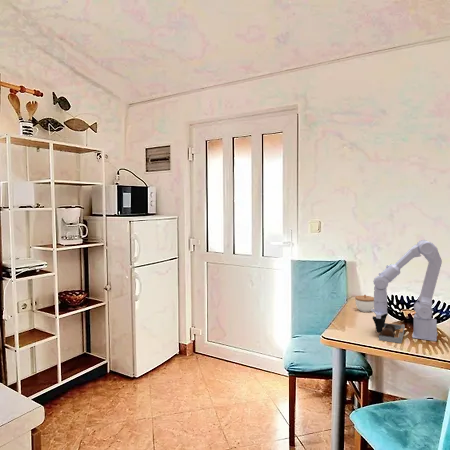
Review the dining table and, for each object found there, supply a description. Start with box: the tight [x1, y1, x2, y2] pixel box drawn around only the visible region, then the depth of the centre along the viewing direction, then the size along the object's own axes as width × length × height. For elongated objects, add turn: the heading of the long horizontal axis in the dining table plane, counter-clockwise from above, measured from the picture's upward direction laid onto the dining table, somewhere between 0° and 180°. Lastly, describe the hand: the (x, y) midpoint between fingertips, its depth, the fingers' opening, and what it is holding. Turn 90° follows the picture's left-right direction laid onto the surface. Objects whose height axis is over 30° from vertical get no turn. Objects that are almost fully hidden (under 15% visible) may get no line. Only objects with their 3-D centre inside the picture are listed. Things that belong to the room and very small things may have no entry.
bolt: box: [380, 323, 397, 337], centre depth 167 cm, size 6×5×15 cm
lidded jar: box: [354, 294, 374, 313], centre depth 209 cm, size 11×11×9 cm
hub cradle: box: [378, 322, 405, 344], centre depth 168 cm, size 9×21×3 cm, turn 150°
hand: (380, 329), depth 170 cm, fingers open, 7 cm apart
